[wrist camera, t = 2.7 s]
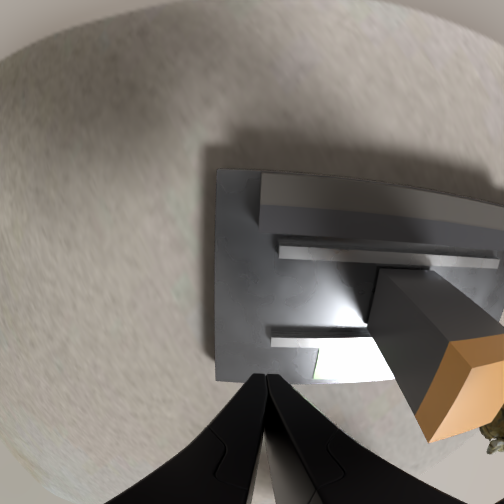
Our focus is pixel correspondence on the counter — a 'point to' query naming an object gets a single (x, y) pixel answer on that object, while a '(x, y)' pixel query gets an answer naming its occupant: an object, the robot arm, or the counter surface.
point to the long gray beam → (376, 212)
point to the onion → (495, 432)
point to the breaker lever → (439, 351)
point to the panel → (316, 291)
